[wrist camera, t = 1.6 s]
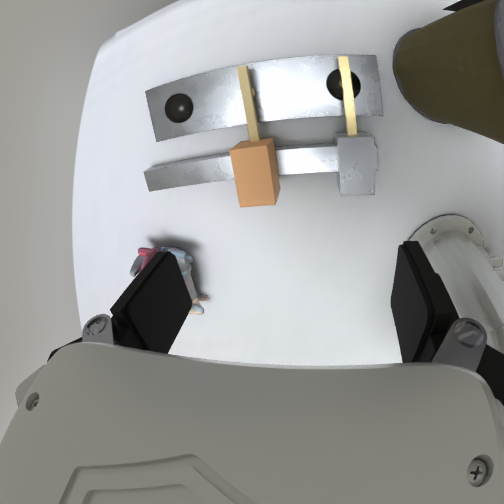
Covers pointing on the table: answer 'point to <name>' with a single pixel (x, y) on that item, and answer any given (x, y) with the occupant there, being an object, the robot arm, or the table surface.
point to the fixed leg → (353, 145)
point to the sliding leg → (254, 156)
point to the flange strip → (263, 94)
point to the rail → (221, 169)
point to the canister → (457, 68)
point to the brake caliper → (185, 268)
